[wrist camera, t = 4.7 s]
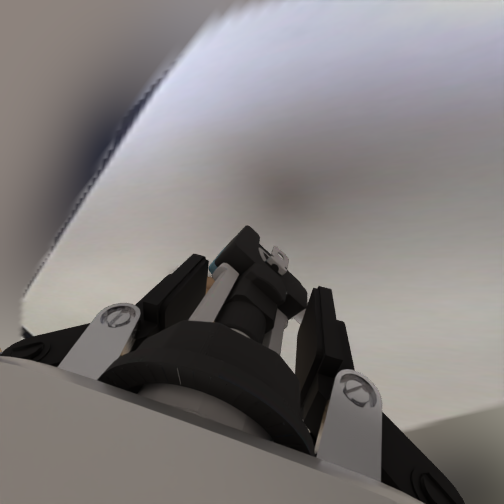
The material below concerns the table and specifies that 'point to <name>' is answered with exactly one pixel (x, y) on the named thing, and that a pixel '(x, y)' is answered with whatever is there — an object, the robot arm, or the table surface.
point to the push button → (229, 349)
